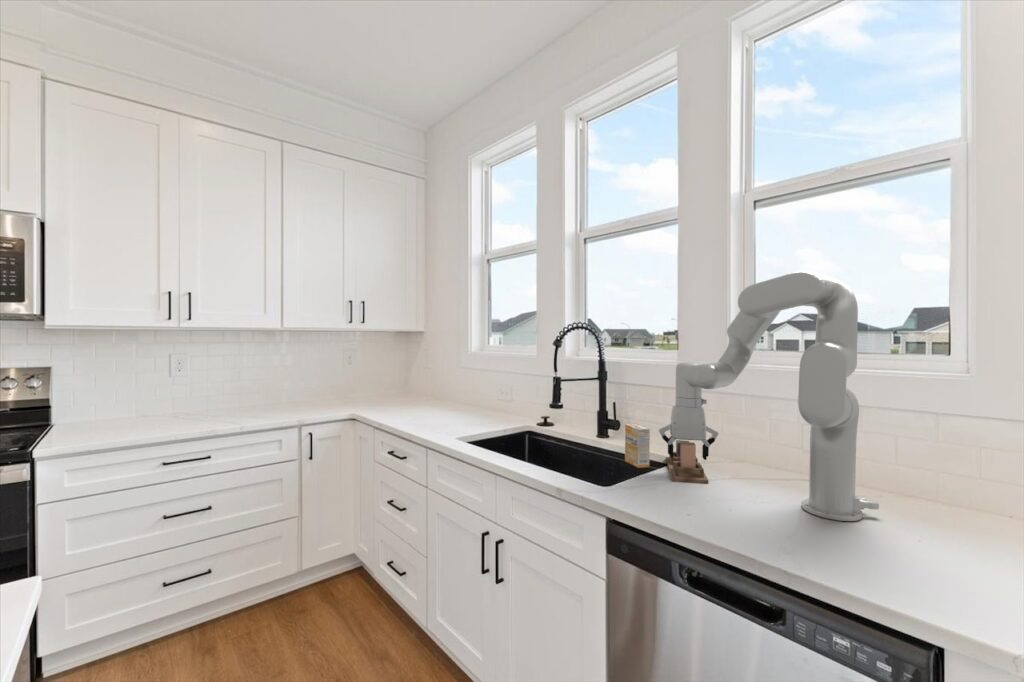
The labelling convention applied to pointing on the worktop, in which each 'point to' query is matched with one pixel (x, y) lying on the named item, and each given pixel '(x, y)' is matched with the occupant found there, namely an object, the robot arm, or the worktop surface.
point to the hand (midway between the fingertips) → (687, 457)
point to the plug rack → (685, 469)
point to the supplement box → (637, 445)
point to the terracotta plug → (687, 455)
